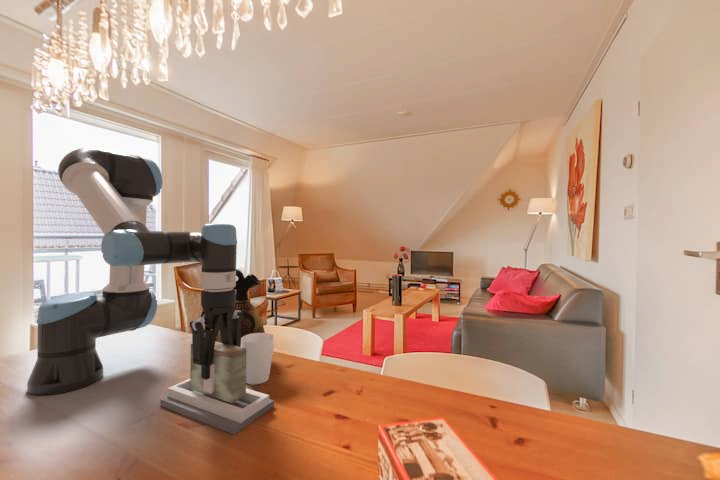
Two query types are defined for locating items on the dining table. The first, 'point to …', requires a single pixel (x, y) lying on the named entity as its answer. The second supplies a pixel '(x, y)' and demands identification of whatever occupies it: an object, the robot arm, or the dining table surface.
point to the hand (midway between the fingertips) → (217, 386)
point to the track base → (208, 415)
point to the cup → (258, 356)
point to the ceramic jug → (246, 306)
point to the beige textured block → (223, 373)
